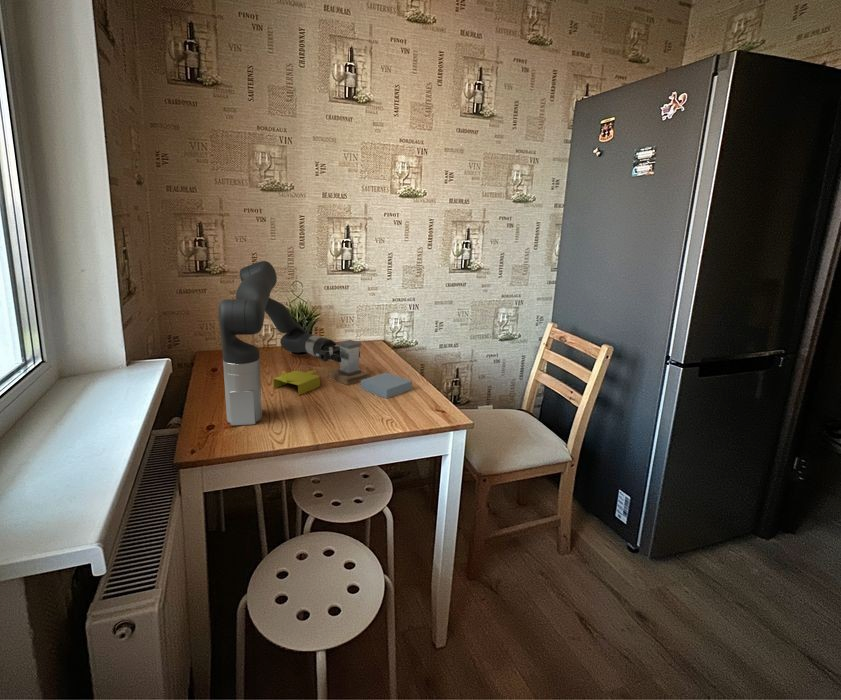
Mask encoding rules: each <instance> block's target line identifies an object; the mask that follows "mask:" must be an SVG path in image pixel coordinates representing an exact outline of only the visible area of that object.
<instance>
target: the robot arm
mask: <svg viewBox="0 0 841 700" xmlns="http://www.w3.org/2000/svg"><path fill="white" fill-rule="evenodd" d="M239 279H240V284H239V286H238V287H237V289H236V292H235V299H232V298H231V299H222V300H221V301H220V303H219V305H218V322H219V332H220V338H221V339H220V340H221V349H222V350H221V351H222V365H223V379H224V395H225V409H226V411H225V413H226V422H228V423H229V424H230V425H231V426H245V425H247V426H248V425H249V426H250V425H256V423H258V422H259V421H261V419H262V418H263V404H262V388H261V387H262V385H261V384H262V383H261V361H260V359H261V358H260V356H261V355H260V350H259V347H257V346H256V345H254V344H251V343H248V342H245V341H242V340H241V339H240V338H238V336H239V335H240V336H244V335H245V336H246V335H247V336H250V335H251V336H252V335H257V334H259V333H260V332H261V331H262V329H263V326H264V321H265V313H266V315H267V317H269V319H270V320H271V321H272V324H273V325H274V327H275V329H276V330H277V331H278V332H279V333H280V334H281V333H282V334H283V336H282V337H281V338H280V340H279V342H280V345H281V347H282V349H284V350H285V351H288V352H290V353H306V354H310V355H311V356H313V357H315V359H318V360H321V361H324V362H328V360H329V361H330V362H331V361H333V362H337V363H340V362H341V356H340V346H338V344H336V342H335V341H334V340H332V339H330V338H327V337H323V336H320V335H316V334H315V335H314V334H311V333H307V330H306V329H305V328H303V327H302V326H301V325H299V323H298V322H296V321H295V319H294V318H293V316H292V314H291V313H290V311H289V309H288V308H287V307H286V306H285V305H284V303H281V302H279V301H278V300H275V299H273V298H271V297H270V295H271V292H272V290H273V289H274V287H275V286H276V285H277V281H278V280H277V279H278V277H277V272H276V269H275V267H274V266H273V265H272V264H271V262H269V261H267V260H261V261H258V262H255V263H252V264H250V265H247V266H244V267H242V268H241V269H239ZM237 335H238V336H237ZM359 358H361V352H360V351H359Z"/></svg>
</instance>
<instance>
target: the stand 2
mask: <svg viewBox="0 0 841 700" xmlns="http://www.w3.org/2000/svg"><path fill="white" fill-rule="evenodd" d="M360 389H361V390H364V391H366V392H368V393H371V394H373V395H376V396H379V397H382V398H383V399H386V400H387V399H390V398H392V397H395V396H398V395H400V394H404V393H406V392H409V391H412V390H413V380H410V379H407V378H404V377H401V376H398V375H395V374H392V373H389V372H383V373H381V374H377V375H374V376H373V375H372V376H370V378H366V379H363V380H361V382H360Z"/></svg>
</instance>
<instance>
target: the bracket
mask: <svg viewBox="0 0 841 700" xmlns="http://www.w3.org/2000/svg"><path fill="white" fill-rule="evenodd" d="M316 372H318V370H316V369H312V370H309V371H307V372H306V371H305V372H304V371H301V370H297V369H296V370H293V371H290V372H288V373H287V372H286V371H285V370H283V371H282V372H281V375H280V376H279V375H278V376H276V377H273V379H272V380H273V389H274V388H275V389H277V388H276V387H278V388H280V387H283V386H286V385H289V384H291V385H296V386H297V392H298V393H297V396H298V395H300V394H302V395H304V394H306V393H308V392H307V391H309V392H311V391H313V390H315V389H314V388H316V389H318V388H320V387H321V376H320V375H315V374H314V373H316ZM285 384H286V385H285ZM282 385H283V386H282ZM279 386H280V387H279ZM319 386H320V387H319ZM317 387H318V388H317ZM312 389H313V390H312ZM310 390H311V391H310ZM305 392H306V393H305ZM303 393H304V394H303ZM300 396H301V395H300Z"/></svg>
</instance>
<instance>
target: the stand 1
mask: <svg viewBox="0 0 841 700" xmlns="http://www.w3.org/2000/svg"><path fill="white" fill-rule="evenodd" d="M370 374H371V373H369V372H367V371H364V370H361V373H360V374H356V375H353V376H349V377H348V376H345V375H342V374H340V373H338V369H337V370H334V371H329V372H328V379H330V378H331V379H330V380H333V379H334V380H333V381H335V380H336V381H335V382H338V381H339V382H338V383H340V382H342V383H341V384H343V383H344V384H343V385H345V384H346V386H350V384H351V385H354V384H358V383H361V380H363V379H366V378H370V377H371V375H370ZM357 382H358V383H357Z"/></svg>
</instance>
